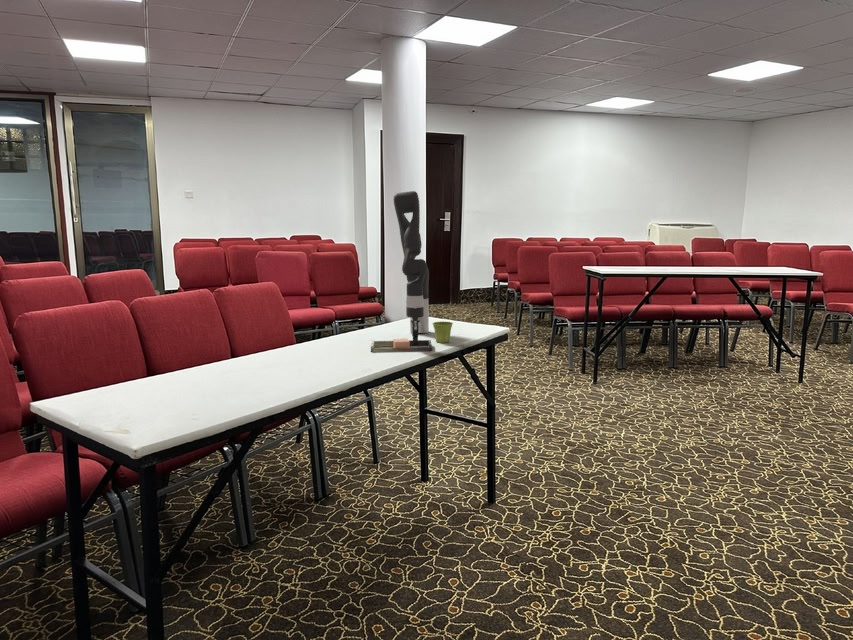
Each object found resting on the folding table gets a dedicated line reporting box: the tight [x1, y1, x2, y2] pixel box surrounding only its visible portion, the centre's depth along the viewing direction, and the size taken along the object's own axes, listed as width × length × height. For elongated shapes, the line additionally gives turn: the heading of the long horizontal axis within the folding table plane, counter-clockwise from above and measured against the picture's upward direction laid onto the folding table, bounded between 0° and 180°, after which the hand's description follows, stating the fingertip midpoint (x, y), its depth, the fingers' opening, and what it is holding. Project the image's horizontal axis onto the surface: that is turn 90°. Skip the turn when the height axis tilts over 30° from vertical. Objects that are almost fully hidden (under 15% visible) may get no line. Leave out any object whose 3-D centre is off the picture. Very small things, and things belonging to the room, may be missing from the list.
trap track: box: [370, 339, 433, 353], centre depth 254 cm, size 11×26×2 cm, turn 92°
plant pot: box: [431, 321, 454, 344], centre depth 268 cm, size 9×9×9 cm
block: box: [392, 338, 410, 348], centre depth 254 cm, size 6×6×4 cm
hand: (415, 345), depth 254 cm, fingers closed
